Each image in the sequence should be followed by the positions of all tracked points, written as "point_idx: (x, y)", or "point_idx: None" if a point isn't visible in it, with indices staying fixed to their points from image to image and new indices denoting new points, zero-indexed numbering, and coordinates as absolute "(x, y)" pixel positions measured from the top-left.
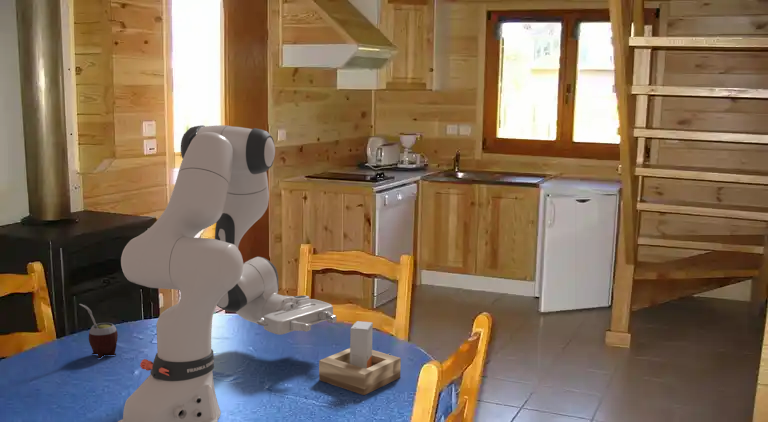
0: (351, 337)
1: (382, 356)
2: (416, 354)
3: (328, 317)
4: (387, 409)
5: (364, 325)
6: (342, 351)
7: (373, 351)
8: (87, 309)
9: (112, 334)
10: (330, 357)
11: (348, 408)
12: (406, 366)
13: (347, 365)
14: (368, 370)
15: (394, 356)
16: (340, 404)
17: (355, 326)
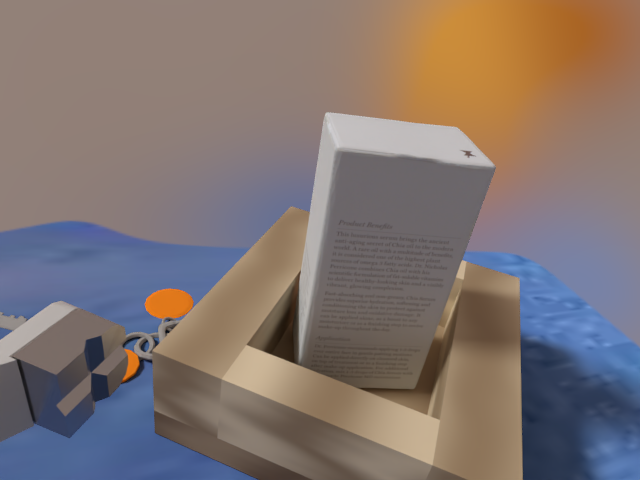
0: (474, 216)
1: (297, 246)
2: (16, 243)
3: (73, 382)
4: (528, 282)
5: (404, 129)
6: (290, 402)
7: (243, 275)
8: None
9: None
10: (429, 444)
11: (615, 368)
12: (163, 262)
13: (479, 341)
14: (472, 271)
15: (282, 219)
16: (614, 397)
17: (449, 152)
